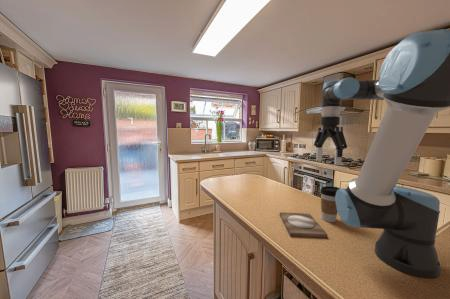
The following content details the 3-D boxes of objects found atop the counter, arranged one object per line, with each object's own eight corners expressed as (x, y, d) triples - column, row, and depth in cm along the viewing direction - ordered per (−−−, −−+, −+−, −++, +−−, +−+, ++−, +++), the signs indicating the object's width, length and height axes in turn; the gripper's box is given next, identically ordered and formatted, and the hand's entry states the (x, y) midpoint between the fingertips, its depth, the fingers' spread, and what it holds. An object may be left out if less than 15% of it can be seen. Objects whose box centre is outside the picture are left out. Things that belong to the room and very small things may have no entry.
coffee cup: (342, 224, 83) (345, 191, 82) (321, 222, 85) (323, 189, 84) (335, 216, 92) (337, 185, 90) (316, 214, 93) (318, 184, 92)
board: (327, 237, 73) (327, 233, 73) (289, 236, 74) (290, 231, 74) (309, 216, 91) (309, 212, 91) (279, 215, 92) (279, 211, 91)
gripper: (359, 113, 76) (356, 166, 77) (321, 119, 101) (319, 159, 102) (342, 113, 75) (338, 166, 76) (308, 118, 100) (306, 159, 101)
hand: (327, 162), depth 89 cm, fingers open, 13 cm apart
